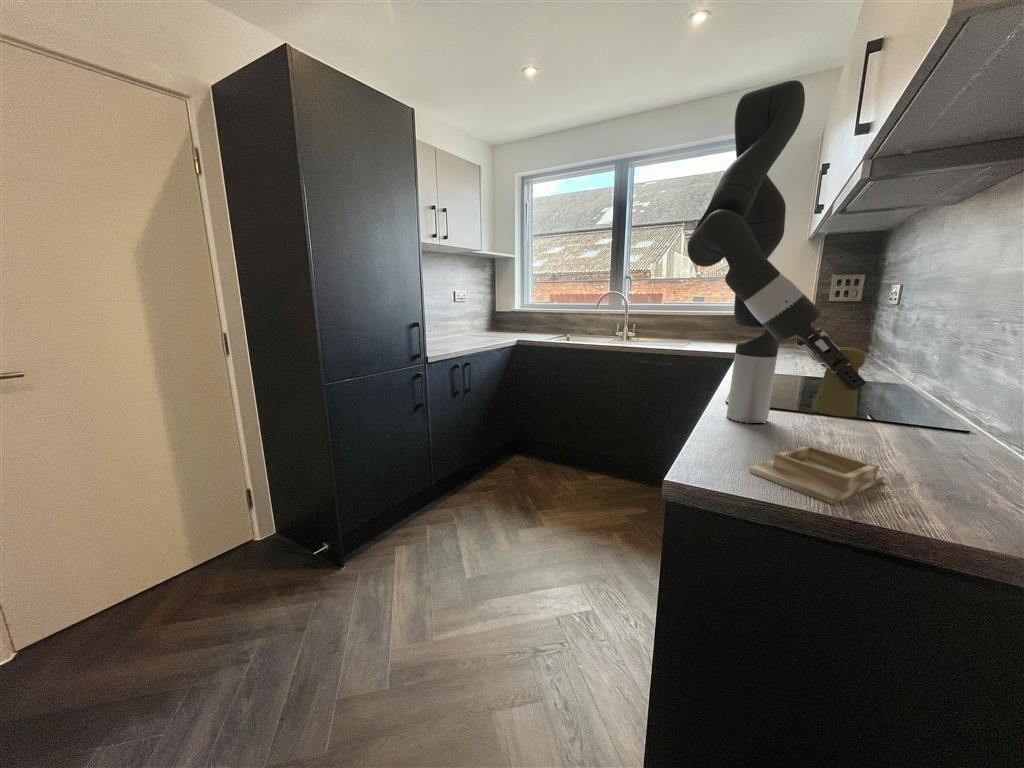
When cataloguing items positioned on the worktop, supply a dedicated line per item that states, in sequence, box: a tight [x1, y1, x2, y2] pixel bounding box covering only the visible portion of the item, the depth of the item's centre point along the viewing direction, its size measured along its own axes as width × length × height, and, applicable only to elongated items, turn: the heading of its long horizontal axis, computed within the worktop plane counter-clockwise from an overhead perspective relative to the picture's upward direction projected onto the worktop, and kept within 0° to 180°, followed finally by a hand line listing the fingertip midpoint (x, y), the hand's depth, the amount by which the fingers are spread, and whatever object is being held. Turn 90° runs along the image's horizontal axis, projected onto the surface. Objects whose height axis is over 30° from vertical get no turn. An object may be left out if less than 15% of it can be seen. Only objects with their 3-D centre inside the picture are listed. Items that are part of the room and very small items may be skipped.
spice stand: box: [748, 444, 885, 505], centre depth 72 cm, size 18×13×4 cm
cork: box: [811, 346, 866, 418], centre depth 67 cm, size 6×6×11 cm
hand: (853, 383), depth 67 cm, fingers closed on cork, 5 cm apart
